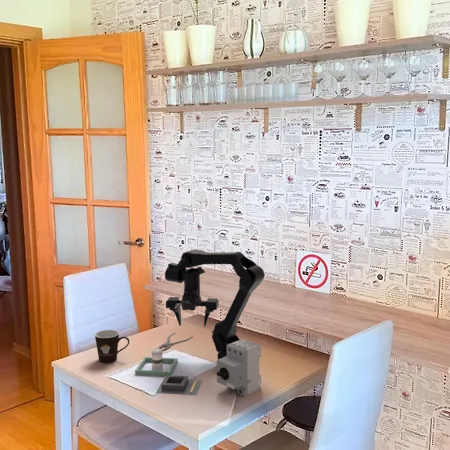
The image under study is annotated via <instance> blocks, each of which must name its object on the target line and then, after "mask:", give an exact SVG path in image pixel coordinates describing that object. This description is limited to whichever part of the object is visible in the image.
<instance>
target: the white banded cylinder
mask: <svg viewBox="0 0 450 450" xmlns="http://www.w3.org/2000/svg"><path fill="white" fill-rule="evenodd" d="M162 350H163V348H158V347H157V348H152V350H151V351H150V352H151V357H152V362H151V370H154V371H163V369H164V366H163V364H164V363H163V359H162V358H163V352H164V351H162Z"/></svg>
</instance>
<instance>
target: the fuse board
mask: <svg viewBox="0 0 450 450" xmlns="http://www.w3.org/2000/svg"><path fill="white" fill-rule="evenodd" d="M202 383H203V380H201V379H189V376H188V375H187V376H186V375H172V374H171V375H167V376H164V378H163V379H162V381H161V382H160V385H159V386H158V389H157V390H156V392H155V393H156V394H167V395H182V396H183V395H185V396H197V394H198V393H199V390H200V388H201V386H202Z"/></svg>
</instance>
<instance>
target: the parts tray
mask: <svg viewBox="0 0 450 450" xmlns="http://www.w3.org/2000/svg"><path fill="white" fill-rule="evenodd" d="M162 359H163V364H171V365H170V367H169V369H168V370H160V371H154V370H152V369H143V368H144V367H145V365H146V364H147V363H152V356H144V357H143V359H142V360H141V362H140V363H139V364H138V366H137V367H136V368H135V370H134V375H136V376H152V377H166V376H167V375H172V374H173V371H174V370H175V369H176V367H177V365H178V363H179V362H178V361H179V359H178V358H171V357H162Z"/></svg>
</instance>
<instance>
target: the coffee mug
mask: <svg viewBox="0 0 450 450" xmlns="http://www.w3.org/2000/svg"><path fill="white" fill-rule="evenodd" d="M119 336H120V332H119V331H118V330H115V329H104V330H100V331H97V332H96V333H94V338H95V345H96V350H97V356H98V362H99V363H101V364H113V363H115V362H116V361H117V360H118V354H119V353H120V352H121V351H123V350H125V349H126V348H127V347H128V346H129V345H130V339H129V338H128V337H126V336H120V337H119ZM122 339H125V340H126V341H127V344H125V346H124V347H122V348H120V349H119V343H120V341H121V340H122ZM118 349H119V350H118Z"/></svg>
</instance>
